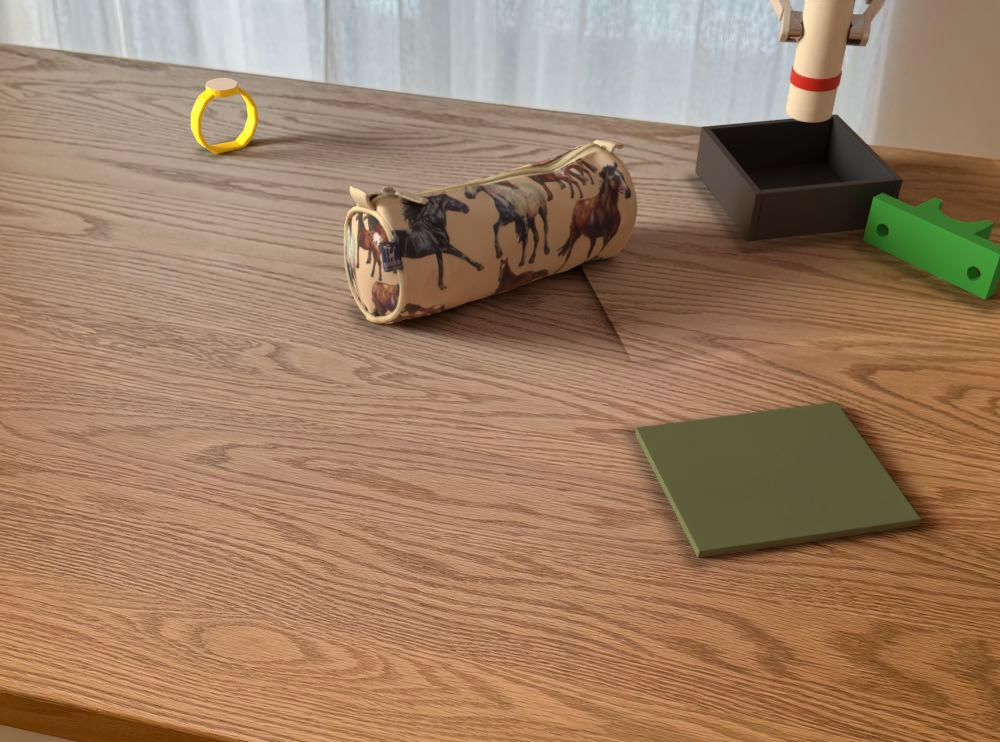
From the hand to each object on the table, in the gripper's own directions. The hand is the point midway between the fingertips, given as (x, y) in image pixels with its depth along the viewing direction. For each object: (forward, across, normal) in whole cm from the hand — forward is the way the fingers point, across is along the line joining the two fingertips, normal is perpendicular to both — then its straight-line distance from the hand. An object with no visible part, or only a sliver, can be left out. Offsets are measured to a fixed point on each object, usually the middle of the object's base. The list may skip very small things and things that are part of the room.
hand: (823, 41), depth 94 cm
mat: (+35, -2, -15) cm, 38 cm away
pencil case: (+21, -23, -1) cm, 31 cm away
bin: (+9, 0, +10) cm, 14 cm away
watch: (+8, -49, +12) cm, 51 cm away
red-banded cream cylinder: (+4, 0, +5) cm, 6 cm away
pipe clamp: (+16, +11, +4) cm, 19 cm away
